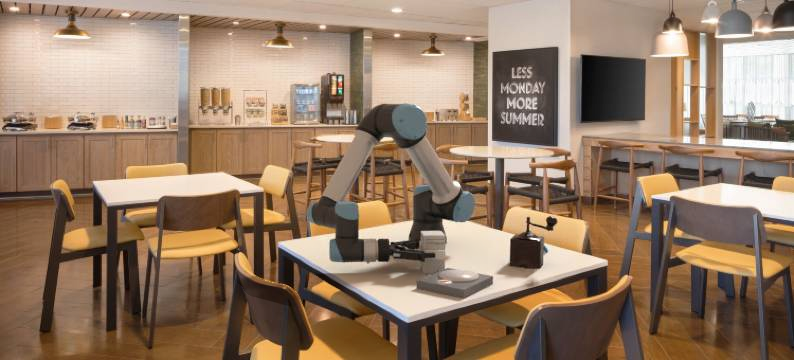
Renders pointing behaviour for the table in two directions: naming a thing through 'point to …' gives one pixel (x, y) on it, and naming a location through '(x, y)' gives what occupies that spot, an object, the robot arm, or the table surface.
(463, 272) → the scale
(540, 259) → the manual coffee grinder
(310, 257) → the table surface
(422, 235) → the supplement box
